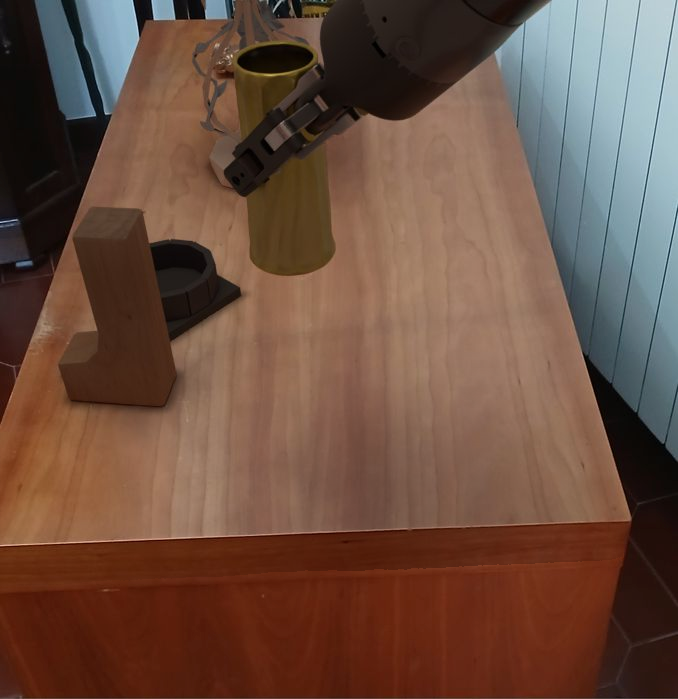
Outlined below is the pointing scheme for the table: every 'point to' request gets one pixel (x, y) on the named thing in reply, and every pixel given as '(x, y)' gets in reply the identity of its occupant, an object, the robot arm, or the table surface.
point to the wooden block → (119, 315)
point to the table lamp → (252, 26)
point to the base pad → (188, 283)
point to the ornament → (225, 58)
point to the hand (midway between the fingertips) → (263, 162)
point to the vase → (296, 176)
